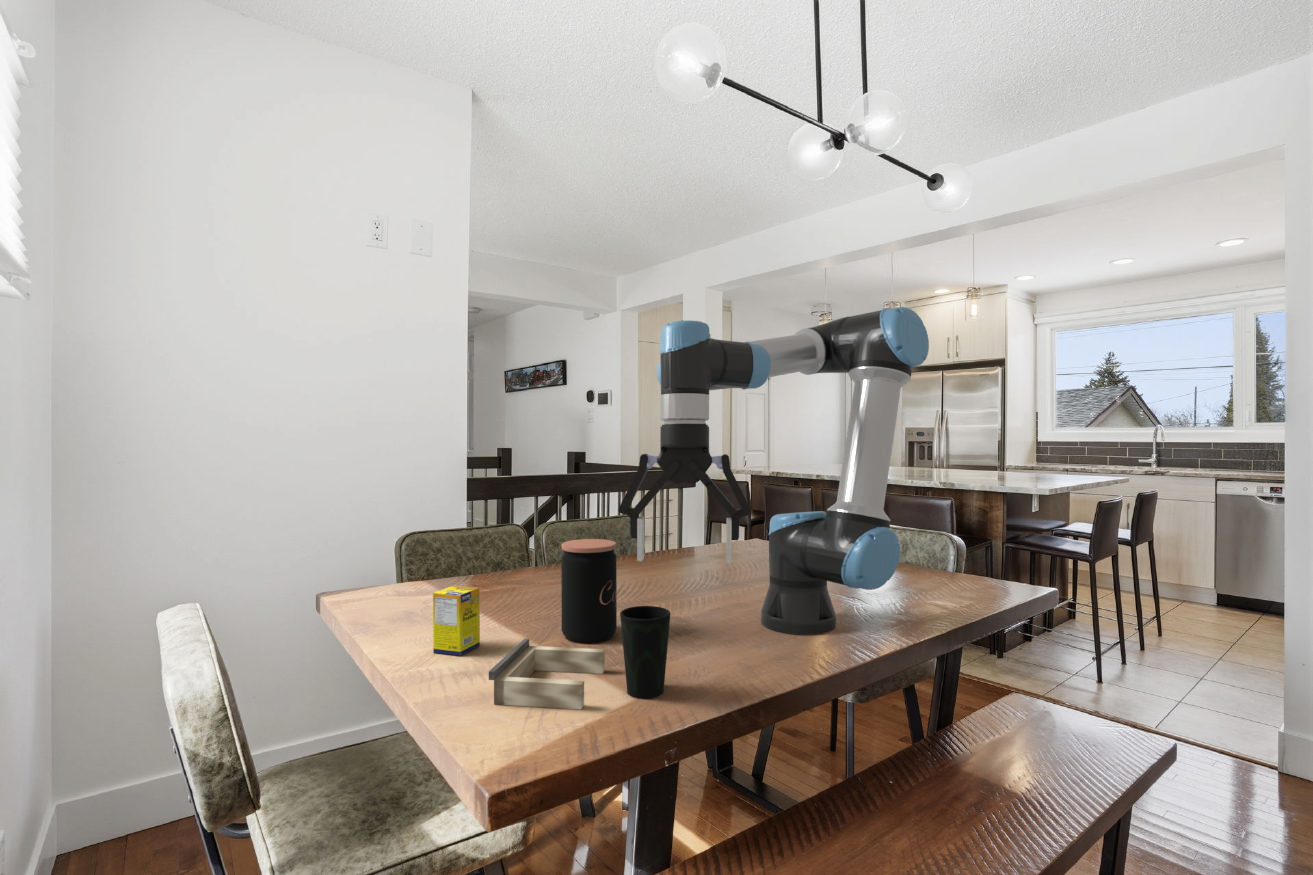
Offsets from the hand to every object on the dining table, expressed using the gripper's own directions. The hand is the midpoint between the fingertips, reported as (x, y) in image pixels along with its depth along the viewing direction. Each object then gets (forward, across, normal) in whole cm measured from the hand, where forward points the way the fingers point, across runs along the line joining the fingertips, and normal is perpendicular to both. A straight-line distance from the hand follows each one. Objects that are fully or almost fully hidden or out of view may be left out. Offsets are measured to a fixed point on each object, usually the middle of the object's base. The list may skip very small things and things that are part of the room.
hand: (684, 560), depth 96 cm
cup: (+20, +6, +2) cm, 21 cm away
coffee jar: (+20, +20, -24) cm, 37 cm away
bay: (+20, +20, +1) cm, 28 cm away
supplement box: (+20, +42, -13) cm, 49 cm away
